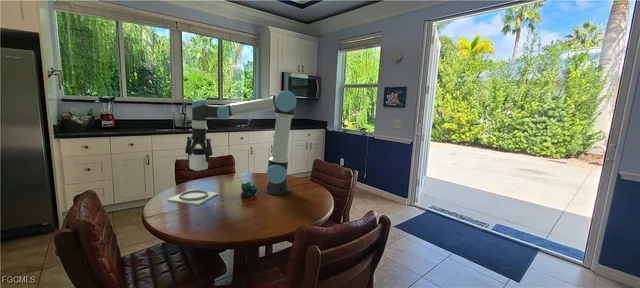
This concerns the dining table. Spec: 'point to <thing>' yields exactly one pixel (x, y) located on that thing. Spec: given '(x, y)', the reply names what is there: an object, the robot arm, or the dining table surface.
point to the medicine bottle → (197, 159)
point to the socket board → (193, 197)
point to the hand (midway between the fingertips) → (198, 166)
